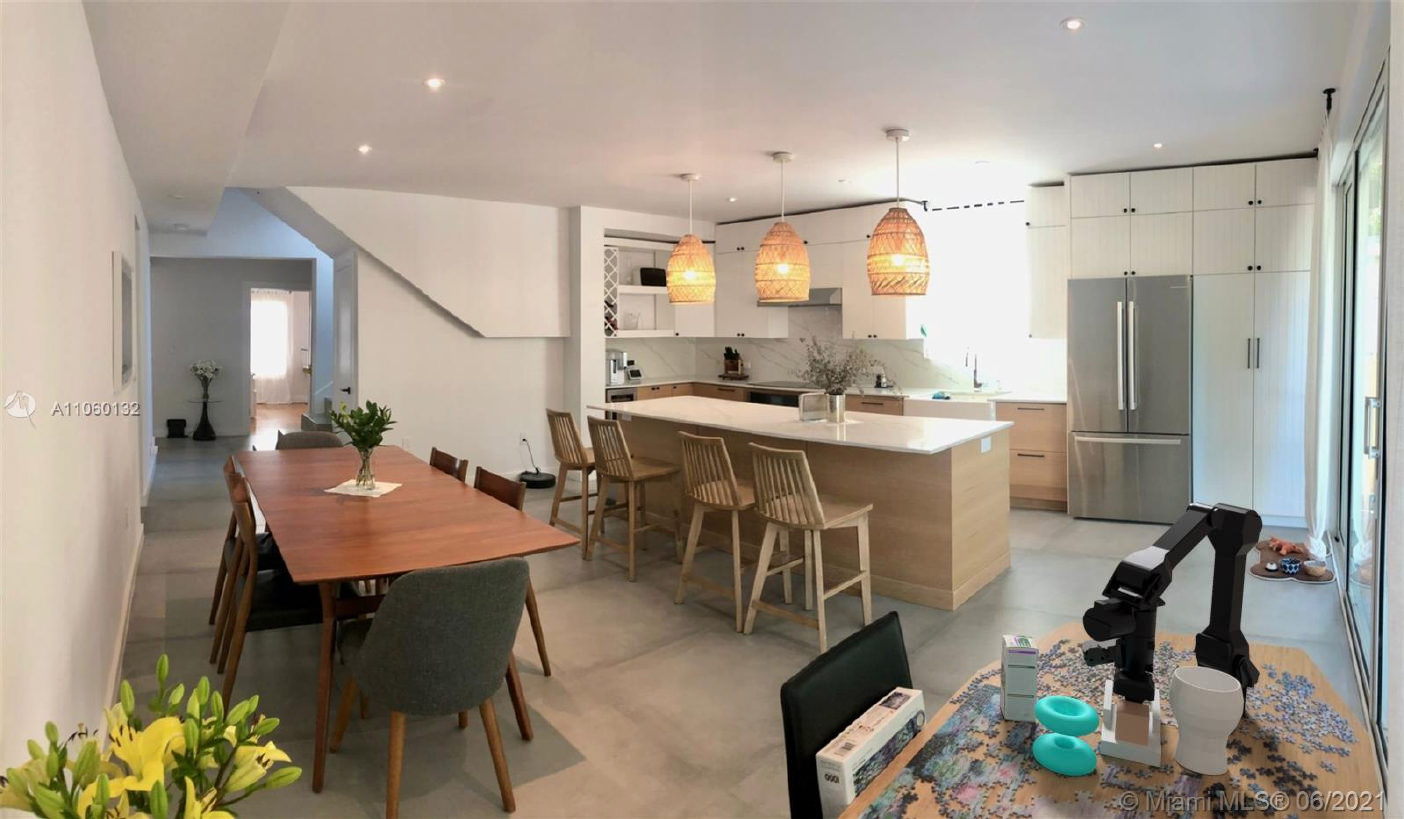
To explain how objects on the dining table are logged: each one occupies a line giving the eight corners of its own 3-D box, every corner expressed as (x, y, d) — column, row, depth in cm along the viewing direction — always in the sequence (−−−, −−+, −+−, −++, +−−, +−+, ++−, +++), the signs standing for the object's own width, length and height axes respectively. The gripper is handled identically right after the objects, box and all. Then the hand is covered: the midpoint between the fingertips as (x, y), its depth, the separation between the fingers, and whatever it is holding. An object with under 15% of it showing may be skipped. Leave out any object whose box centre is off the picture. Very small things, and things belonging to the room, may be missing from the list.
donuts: (1066, 726, 130) (1021, 698, 139) (1063, 784, 131) (1019, 753, 141) (1113, 715, 134) (1067, 688, 143) (1110, 772, 135) (1064, 742, 144)
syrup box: (1036, 723, 151) (1040, 648, 149) (1002, 720, 152) (1006, 645, 150) (1030, 708, 156) (1034, 636, 154) (998, 705, 157) (1001, 633, 156)
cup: (1238, 788, 130) (1246, 699, 128) (1162, 768, 136) (1168, 683, 134) (1237, 757, 139) (1244, 673, 137) (1165, 740, 145) (1171, 659, 143)
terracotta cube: (1147, 732, 142) (1149, 705, 142) (1147, 746, 138) (1149, 718, 137) (1115, 725, 145) (1117, 699, 144) (1114, 738, 140) (1116, 711, 140)
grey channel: (1157, 714, 154) (1159, 689, 153) (1159, 767, 136) (1161, 739, 136) (1104, 703, 158) (1105, 679, 157) (1100, 753, 140) (1101, 726, 140)
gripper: (1089, 606, 155) (1084, 684, 157) (1083, 641, 139) (1077, 727, 141) (1155, 616, 150) (1149, 697, 152) (1157, 654, 134) (1151, 744, 136)
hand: (1130, 715), depth 145 cm, fingers closed
